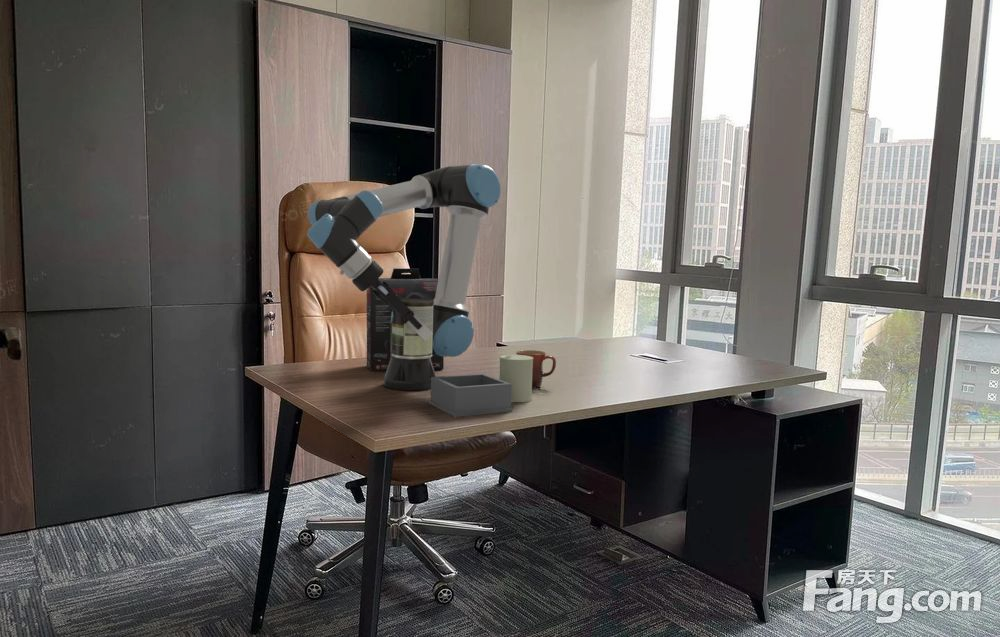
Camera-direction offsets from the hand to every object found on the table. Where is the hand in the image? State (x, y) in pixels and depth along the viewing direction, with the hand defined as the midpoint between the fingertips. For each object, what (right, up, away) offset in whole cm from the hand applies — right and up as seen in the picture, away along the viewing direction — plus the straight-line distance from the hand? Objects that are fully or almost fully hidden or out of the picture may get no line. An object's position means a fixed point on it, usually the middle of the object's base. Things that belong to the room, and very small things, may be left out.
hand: (424, 334), depth 183 cm
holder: (+11, -19, +4) cm, 22 cm away
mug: (+29, -17, +34) cm, 48 cm away
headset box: (-13, -13, +60) cm, 63 cm away
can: (+23, -18, +16) cm, 33 cm away
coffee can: (-3, -6, 0) cm, 6 cm away
